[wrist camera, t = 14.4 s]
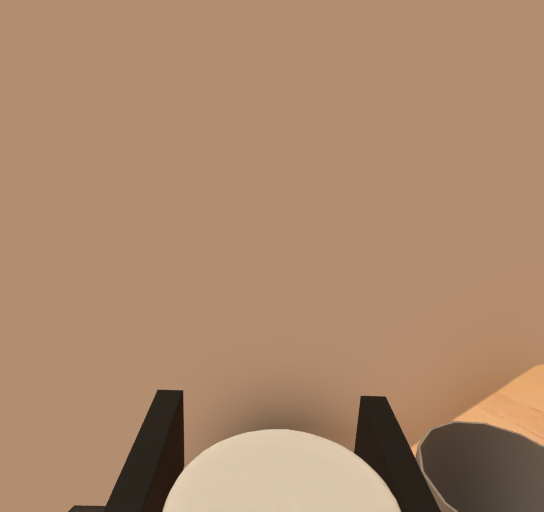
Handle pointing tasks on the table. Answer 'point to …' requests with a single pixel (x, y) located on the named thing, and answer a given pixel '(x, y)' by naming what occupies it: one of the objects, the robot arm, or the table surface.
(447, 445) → the cup
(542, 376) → the table surface
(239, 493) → the pill bottle
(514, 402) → the table surface
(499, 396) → the table surface
